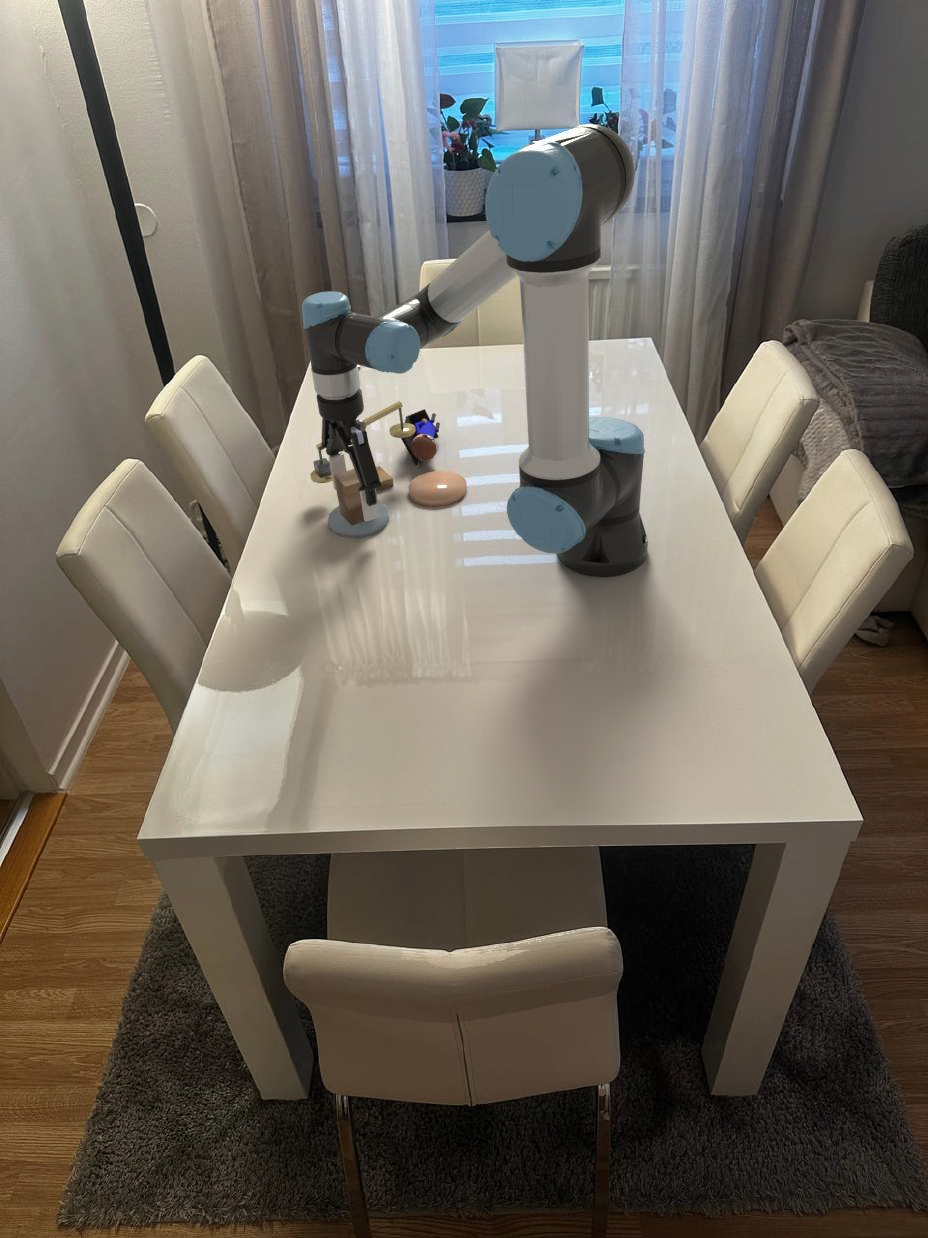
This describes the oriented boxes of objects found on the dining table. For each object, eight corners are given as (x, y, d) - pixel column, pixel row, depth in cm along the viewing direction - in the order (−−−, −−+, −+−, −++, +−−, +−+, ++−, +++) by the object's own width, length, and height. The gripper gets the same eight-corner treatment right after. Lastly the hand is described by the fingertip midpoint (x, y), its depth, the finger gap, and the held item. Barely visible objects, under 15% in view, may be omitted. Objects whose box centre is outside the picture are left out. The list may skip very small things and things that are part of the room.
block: (376, 517, 161) (371, 478, 156) (351, 525, 159) (345, 486, 154) (365, 505, 165) (359, 466, 160) (340, 513, 163) (333, 475, 158)
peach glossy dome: (477, 494, 168) (477, 488, 167) (426, 512, 164) (425, 506, 163) (449, 470, 175) (448, 465, 174) (399, 487, 171) (398, 481, 171)
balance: (425, 474, 175) (418, 404, 165) (322, 508, 167) (308, 437, 158) (411, 462, 179) (403, 393, 170) (310, 495, 171) (296, 424, 162)
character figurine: (443, 436, 188) (435, 472, 176) (409, 434, 188) (399, 470, 177) (443, 401, 183) (435, 436, 171) (408, 400, 183) (397, 434, 172)
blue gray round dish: (399, 524, 161) (398, 519, 160) (343, 544, 157) (342, 538, 156) (373, 499, 168) (372, 493, 168) (319, 517, 165) (318, 511, 164)
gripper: (391, 410, 140) (405, 526, 153) (330, 361, 157) (347, 468, 170) (348, 424, 137) (366, 540, 150) (290, 372, 154) (311, 480, 167)
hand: (356, 502), depth 160 cm, fingers open, 13 cm apart
